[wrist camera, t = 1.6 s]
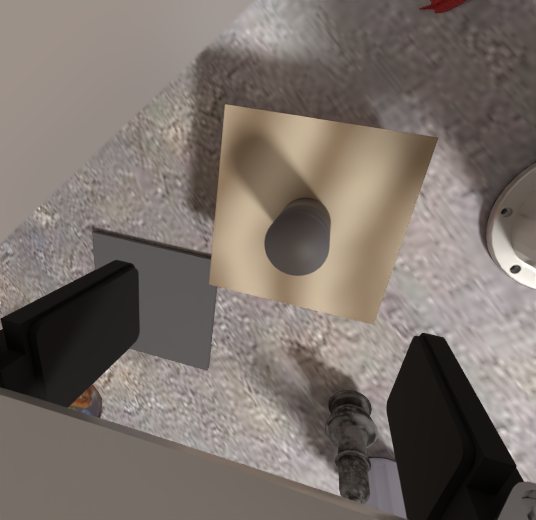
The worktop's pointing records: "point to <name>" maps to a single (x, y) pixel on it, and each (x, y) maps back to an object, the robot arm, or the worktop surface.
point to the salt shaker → (352, 442)
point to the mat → (167, 298)
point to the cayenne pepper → (443, 5)
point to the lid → (313, 209)
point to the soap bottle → (385, 487)
